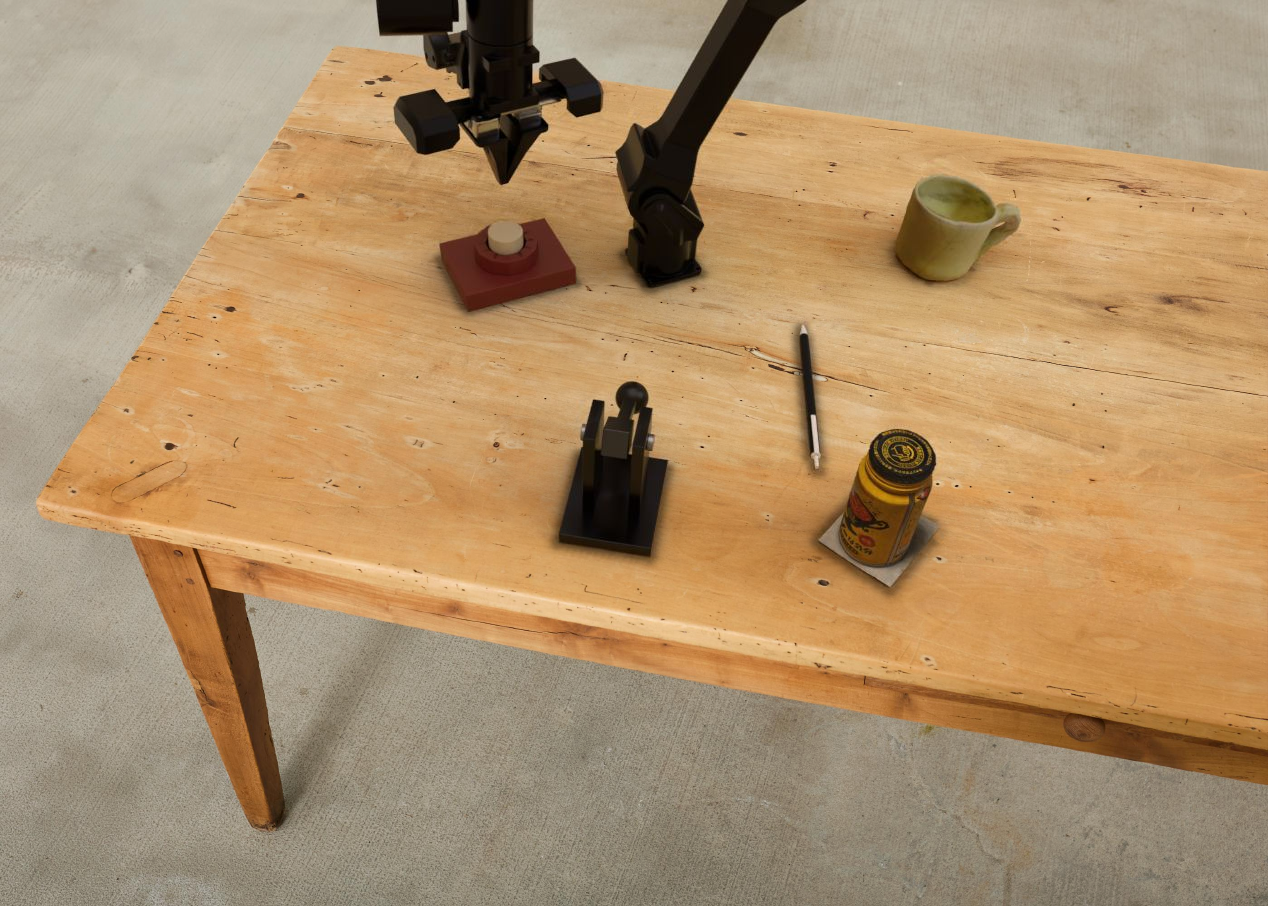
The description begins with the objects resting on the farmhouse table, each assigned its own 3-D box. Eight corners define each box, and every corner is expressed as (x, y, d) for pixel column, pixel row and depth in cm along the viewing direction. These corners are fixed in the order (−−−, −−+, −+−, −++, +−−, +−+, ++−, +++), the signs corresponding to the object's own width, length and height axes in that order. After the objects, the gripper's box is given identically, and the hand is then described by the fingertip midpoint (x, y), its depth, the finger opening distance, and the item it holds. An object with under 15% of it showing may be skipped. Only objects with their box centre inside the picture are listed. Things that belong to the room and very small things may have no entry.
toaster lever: (616, 404, 97) (619, 374, 95) (648, 409, 96) (652, 379, 95) (595, 458, 86) (598, 424, 85) (631, 463, 86) (635, 430, 84)
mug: (884, 273, 112) (925, 185, 107) (879, 240, 121) (916, 158, 115) (992, 310, 113) (1038, 225, 107) (979, 275, 121) (1021, 194, 116)
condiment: (817, 541, 92) (843, 452, 82) (869, 484, 96) (899, 394, 87) (889, 589, 89) (925, 502, 80) (939, 528, 93) (978, 439, 84)
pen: (811, 470, 97) (813, 462, 96) (797, 327, 109) (799, 319, 108) (821, 470, 97) (823, 463, 96) (806, 328, 109) (808, 320, 108)
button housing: (545, 233, 117) (544, 204, 114) (575, 283, 112) (575, 253, 109) (441, 259, 114) (437, 229, 111) (467, 312, 109) (464, 282, 105)
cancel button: (516, 230, 112) (515, 216, 110) (528, 250, 110) (527, 237, 108) (484, 238, 111) (482, 224, 109) (495, 258, 109) (494, 245, 107)
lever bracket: (581, 454, 97) (581, 372, 89) (667, 467, 96) (675, 385, 88) (558, 542, 90) (556, 462, 82) (650, 557, 90) (658, 477, 82)
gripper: (552, -30, 99) (549, 118, 111) (361, 6, 92) (379, 160, 104) (611, 27, 93) (600, 176, 105) (412, 69, 86) (425, 224, 98)
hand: (502, 182), depth 103 cm, fingers closed
